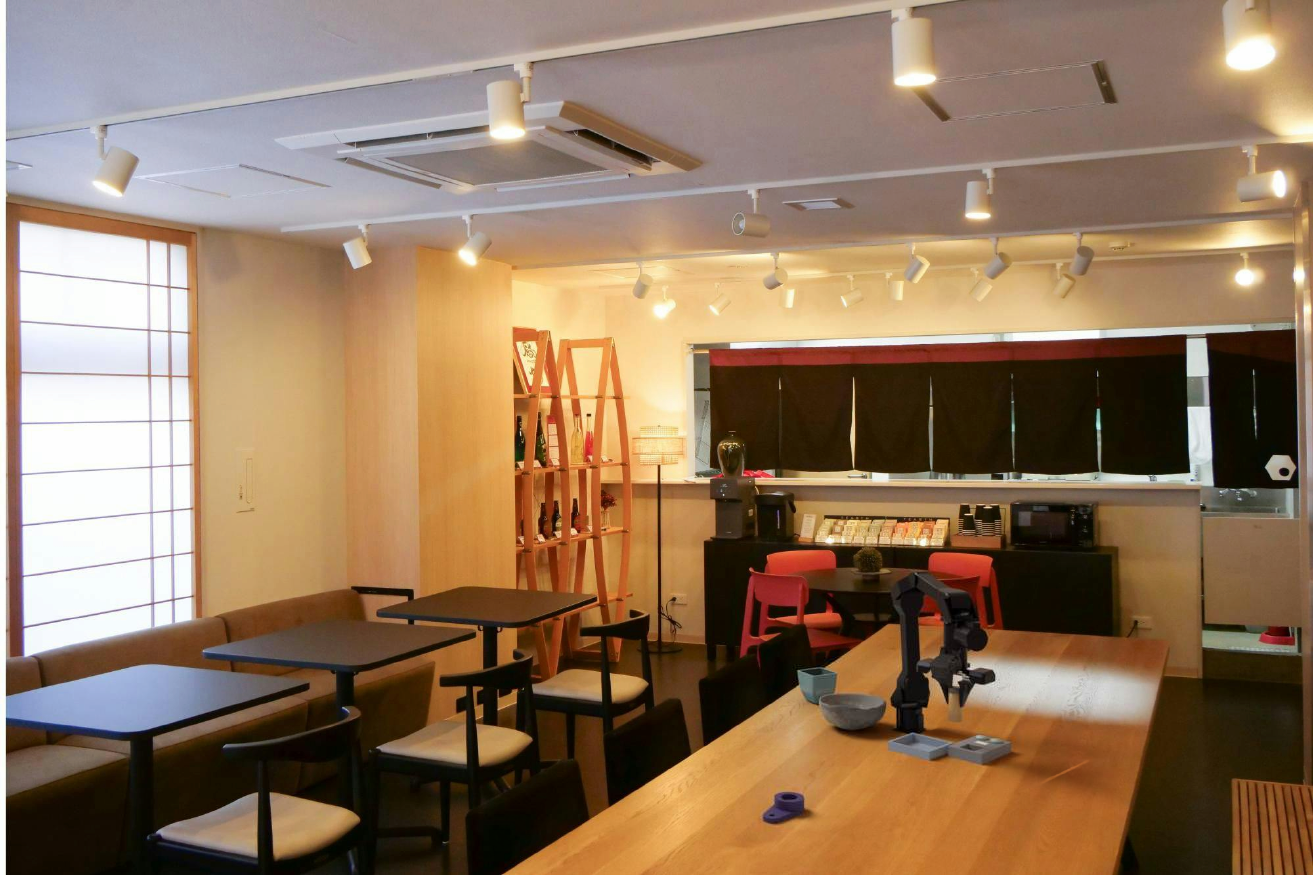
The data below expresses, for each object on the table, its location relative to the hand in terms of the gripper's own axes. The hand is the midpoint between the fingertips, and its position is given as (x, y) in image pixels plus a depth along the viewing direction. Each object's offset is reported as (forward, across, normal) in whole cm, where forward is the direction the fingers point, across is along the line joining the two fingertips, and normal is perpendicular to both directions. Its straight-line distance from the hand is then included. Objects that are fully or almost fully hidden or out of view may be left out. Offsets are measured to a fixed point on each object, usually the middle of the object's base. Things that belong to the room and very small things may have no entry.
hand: (955, 705), depth 261 cm
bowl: (+13, -33, +3) cm, 36 cm away
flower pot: (+14, -57, +19) cm, 61 cm away
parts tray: (+13, -8, -3) cm, 15 cm away
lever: (+13, -5, -60) cm, 62 cm away
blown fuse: (+4, 0, 0) cm, 4 cm away
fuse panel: (+13, +4, +5) cm, 14 cm away
